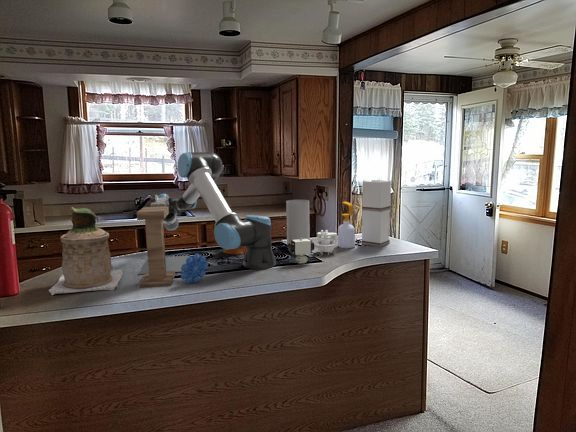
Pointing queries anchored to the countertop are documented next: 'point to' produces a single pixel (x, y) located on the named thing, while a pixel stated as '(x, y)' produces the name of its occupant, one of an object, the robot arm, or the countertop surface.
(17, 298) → the countertop surface
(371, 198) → the white lidded square box
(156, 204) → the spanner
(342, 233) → the soap bottle
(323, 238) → the mechanical part
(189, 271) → the grapes
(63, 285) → the cookie jar
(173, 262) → the rubber mat
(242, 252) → the ceramic vessel
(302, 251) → the pneumatic valve
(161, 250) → the stand
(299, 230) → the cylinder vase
